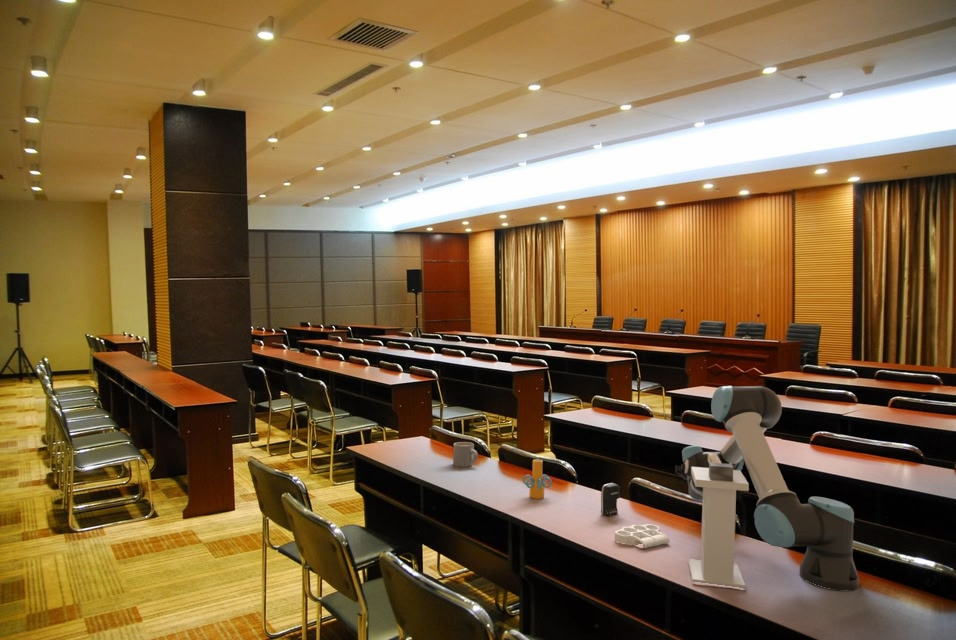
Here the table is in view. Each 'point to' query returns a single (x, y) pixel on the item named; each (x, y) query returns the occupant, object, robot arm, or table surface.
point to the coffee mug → (464, 454)
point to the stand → (717, 530)
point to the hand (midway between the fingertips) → (708, 465)
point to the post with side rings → (537, 480)
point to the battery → (609, 499)
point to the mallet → (719, 469)
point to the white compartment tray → (641, 535)
